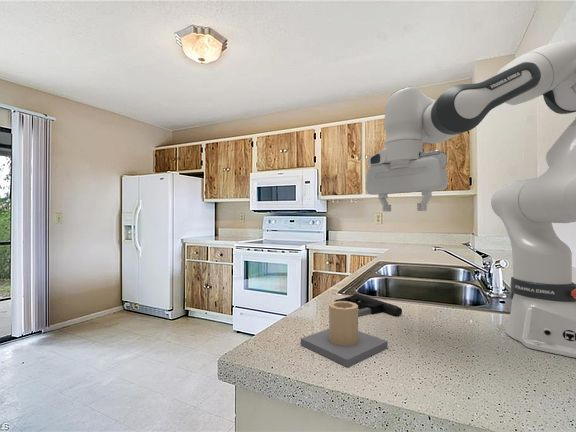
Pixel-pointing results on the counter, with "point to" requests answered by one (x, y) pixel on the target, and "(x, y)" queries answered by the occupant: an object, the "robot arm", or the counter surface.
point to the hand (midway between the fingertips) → (403, 211)
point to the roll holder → (344, 347)
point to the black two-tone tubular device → (372, 305)
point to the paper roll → (343, 323)
